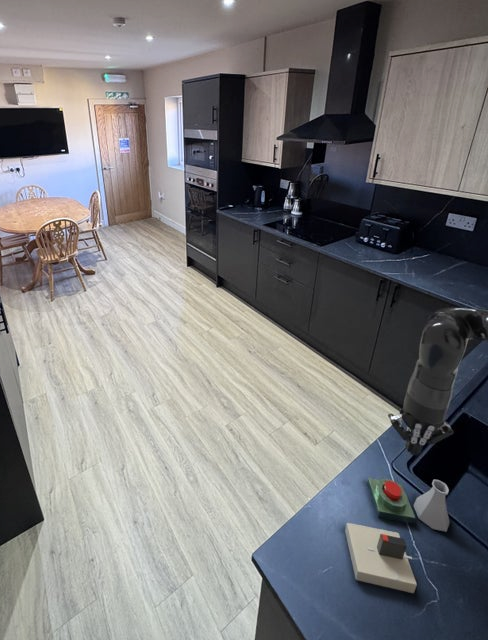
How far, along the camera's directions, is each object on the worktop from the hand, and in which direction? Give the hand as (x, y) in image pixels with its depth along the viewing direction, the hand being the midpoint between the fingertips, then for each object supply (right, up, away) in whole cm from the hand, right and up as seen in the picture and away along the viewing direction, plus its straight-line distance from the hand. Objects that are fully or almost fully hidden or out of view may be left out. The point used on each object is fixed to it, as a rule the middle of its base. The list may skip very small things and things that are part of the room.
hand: (411, 451), depth 76 cm
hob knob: (-10, -18, -7) cm, 21 cm away
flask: (+7, -18, +3) cm, 19 cm away
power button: (-2, -13, +4) cm, 14 cm away
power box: (-2, -17, +5) cm, 18 cm away
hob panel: (-11, -20, -5) cm, 24 cm away
